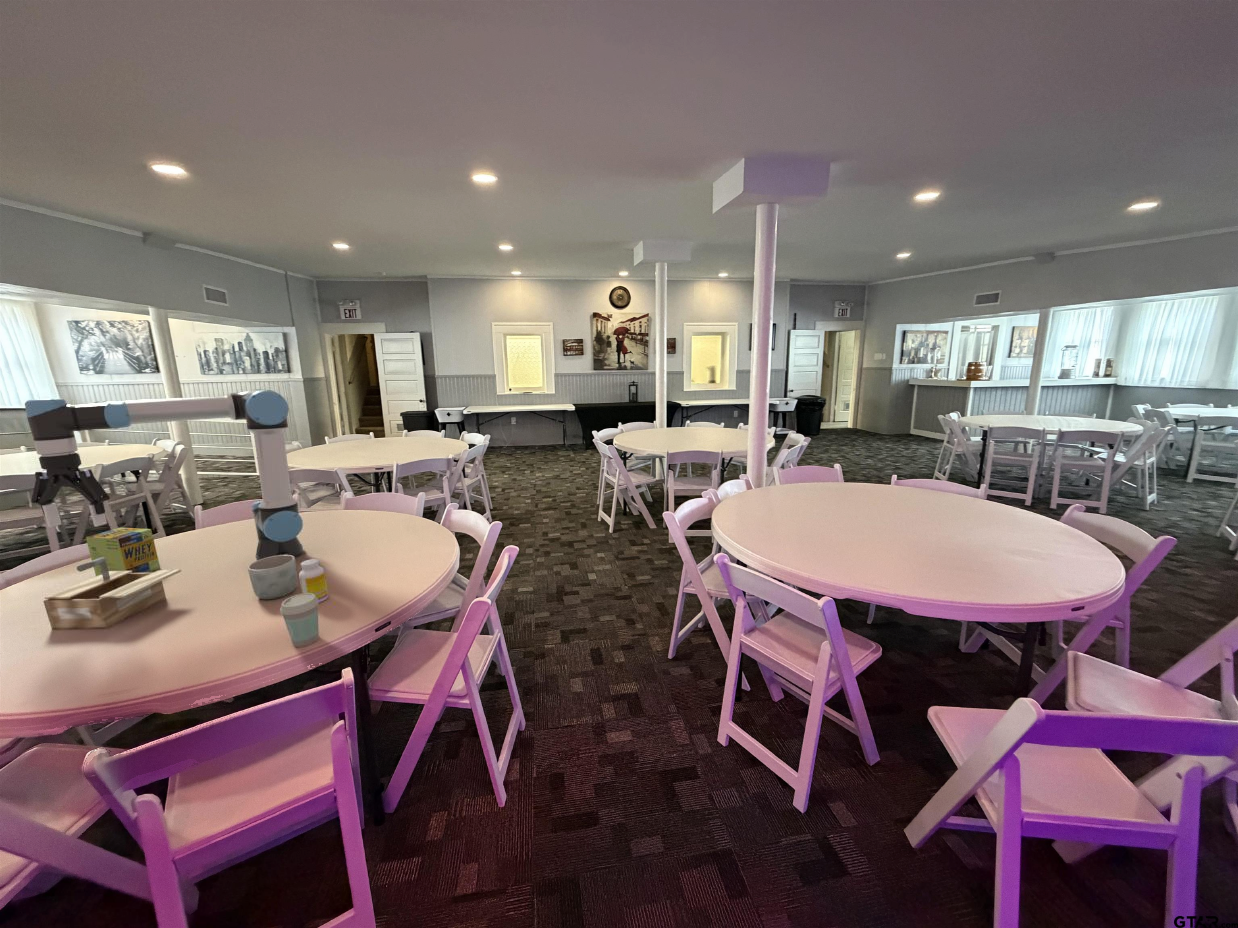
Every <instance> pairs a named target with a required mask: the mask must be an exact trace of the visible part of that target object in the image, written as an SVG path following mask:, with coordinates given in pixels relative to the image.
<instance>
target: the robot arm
mask: <svg viewBox="0 0 1238 928" xmlns="http://www.w3.org/2000/svg"><path fill="white" fill-rule="evenodd" d="M24 406H25V407H24V408H25V413H26V419H27V423H28V425H29V429H30V432H31V434H32V438H33V443H34V447H35V451H36V454H37V455H38V456H39V455H40V456H39V457H38V461H39V464H40V468H41V469H42V470H41V471H40V470H39V471H36V472H35V473H34V477H35V482H34V487H33V492H32V496H31V501H30V502H31V503H32V504H38V505H39V506H40V508H41V510H42V514H43V516H45V520H46V521H45V522H46V523H47V524H46V525H47V527H48V528H52V527H53V528H54V527H57V526H60V525H62V521H61V517H60V513H59V511H58V506H57V503H56V501H54V500H55V498H56V496H57V495H58V493H59V491H60V489H61V488H62V487H69V488H72V489H75V490H76V491H77V492H78V493H79V494H81V496H82V497H84V498H85V499H86V500H87V501H88V502H90V503H89V504H88V507H89V511H90V515H91V519H92V522H93V527H100V526H104V525H106V524H108V522H107V519H106V515H105V514H106V509H105V505H104V502H106V501H108V500H110V499H111V498H110V495H109V494H108V493H107V491H105V489H104V488H103V487H102V485H101V484H100V482H99V481H98V480H97V478H96V477H95V476H94V473H93V471H92V469H90V468H87V469H83V470H80V468H79V467H80V466H82V460H81V457H80V453H78V446H77V443H76V438H75V434H74V432H83V431H93V430H94V431H95V430H96V431H97V430H99V431H100V430H110V429H111V430H112V429H113V430H117V429H121V428H129V427H130V426H131V425H137V424H139V425H140V424H154V423H169V422H170V423H171V422H181V421H183V422H184V421H186V422H187V421H198V420H212V419H213V420H214V419H226V418H227V419H228V418H230V419H231V420H233V421H241V420H246V427H247V430H248V431H249V432H250V433H251V434H253V438H254V445H255V446H254V447H255V453H256V461H257V467H258V475H259V482H260V489H261V497H262V500H259V501H255V502H253V503H252V505H251V507H252V508H251V511H252V513H253V518H254V519H253V520H254V524H255V530H256V534H257V539H258V540H257V545H256V552H255V559H256V560H255V561H258V560H261V559H264V558H267V557H272V556H277V555H292V556H294V557H295V558H297V557H299V556H300V555H301V554H303V553H304V548H303V545H302V543H301V541H300V540H299V538H298V535H299V534H300V533H301V531H302V530H303V526H304V523H303V522H304V521H303V519H302V516H301V515H300V511H299V504H298V499H295V497H294V498H293V496H292V495H293V494H292V488H291V487H292V486H291V480H290V479H291V478H290V474H289V473H290V472H289V464H288V457H287V449H286V448H287V447H286V441H285V431H286V430H288V428H289V423H288V414H289V412H290V411H289V410H290V409H289V404H288V401H287V400H286V399H285V397H284V396H283V395H281V394H280V393H278V392H276V391H274V390H270V389H253V390H247V391H240V392H228V393H227V394H226V395H223V396H222V395H221V396H219V395H218V396H206V397H205V396H200V397H177V398H155V399H137V400H136V399H134V400H116V401H106V400H103V401H101V400H100V401H94V402H92V403H87V404H86V403H84V404H82V403H81V404H68V403H67V402H66V400H65V399H64V398H61V397H59V398H37V399H35V398H33V399H28V400H26V401H25V403H24Z"/></svg>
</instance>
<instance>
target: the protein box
mask: <svg viewBox="0 0 1238 928" xmlns="http://www.w3.org/2000/svg"><path fill="white" fill-rule="evenodd" d="M85 539H86V543H87V548H88V550H89V556H90V558H91V561H93V560H96V559H99V558H101V557H104V558H106V564H107V568H108V572H109V571H132V573H152V572H153V571H154V572H155V571H157V570H160V569H161V564H160V561H159V557H158V551H157V548H156V544H155V541H154V535H153V532H152V528H151V529H150V528H136V527H135V528H134V527H118V528H113V529H111V530H107V531H103V532H99V533H94V534H92V535H87V536H85ZM93 569H94V574H95V577H96V576H99V575H101V574H102V572H101V568H100V565H97V566H94V567H93Z"/></svg>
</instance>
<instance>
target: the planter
mask: <svg viewBox="0 0 1238 928" xmlns="http://www.w3.org/2000/svg"><path fill="white" fill-rule="evenodd" d="M297 570H298V569H297V563H296V557H294V556H292V555H277V556H272V557H267V558H264V559H261V560H258V561H256V560H255V561H254V562H252V563H250V564H249V565H248V566H247V571H248V575H249V580H250V583H251V586H252V587H251V588H252V590H253V592H254V595H255V596H256V597H257V598H259V599H261V600H274V599H279V598H282V597H285V596H287V595H289V594H291V593H292V592H293V591H295V589H297V586H298V572H297Z"/></svg>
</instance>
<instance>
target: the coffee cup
mask: <svg viewBox="0 0 1238 928" xmlns="http://www.w3.org/2000/svg"><path fill="white" fill-rule="evenodd" d="M279 613H280V614H281V615H282V617H283V620H284V624H285V626H286V628H287V631H288V635H289V637H290V639H291V643H292V646H293V647H295V648H303V647H307V646H310V645H312V644H314V643H316V642H317V641H318V640H319V639H320V638H319V637H320V634H319V601H318V598H316V596H315V595H314V594H312V593H304V594H302V593H299V594H295V595H293V596H290V597H288V598H286V599H284V600H283V601H282V602H281V605H280V608H279Z"/></svg>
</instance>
